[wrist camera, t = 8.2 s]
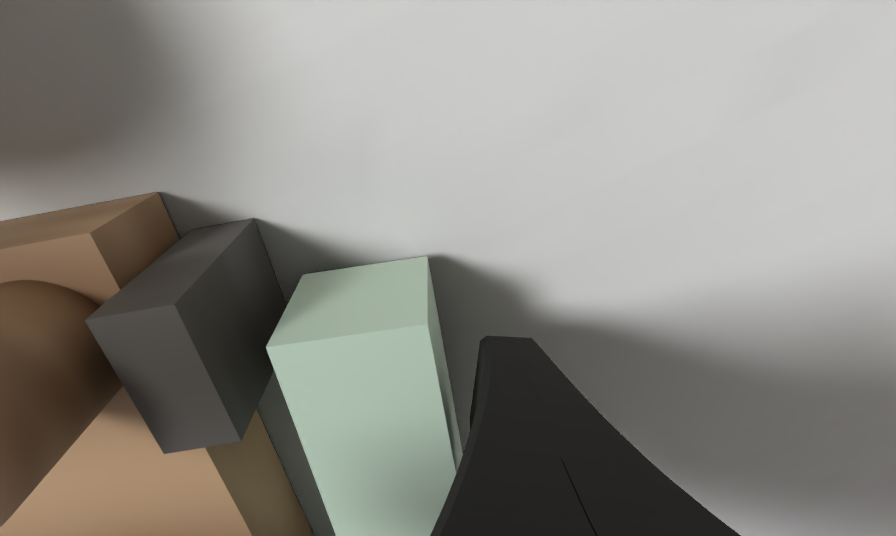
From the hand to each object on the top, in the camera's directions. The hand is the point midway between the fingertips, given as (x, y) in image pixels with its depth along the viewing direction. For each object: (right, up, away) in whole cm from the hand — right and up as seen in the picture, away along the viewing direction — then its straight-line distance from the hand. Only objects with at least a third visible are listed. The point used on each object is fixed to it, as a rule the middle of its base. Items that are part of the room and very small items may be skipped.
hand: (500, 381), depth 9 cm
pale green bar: (-2, -2, +2) cm, 3 cm away
